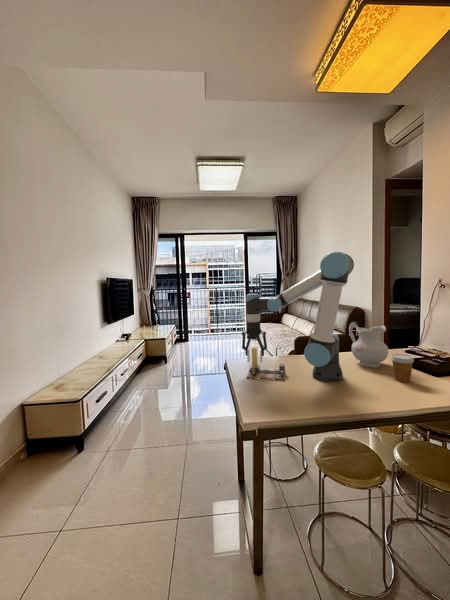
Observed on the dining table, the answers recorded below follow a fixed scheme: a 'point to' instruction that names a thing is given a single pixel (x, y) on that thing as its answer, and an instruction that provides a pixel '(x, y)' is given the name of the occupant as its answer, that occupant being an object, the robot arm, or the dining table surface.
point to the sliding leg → (254, 361)
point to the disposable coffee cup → (402, 367)
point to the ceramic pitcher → (368, 345)
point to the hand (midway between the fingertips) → (255, 361)
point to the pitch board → (269, 373)
